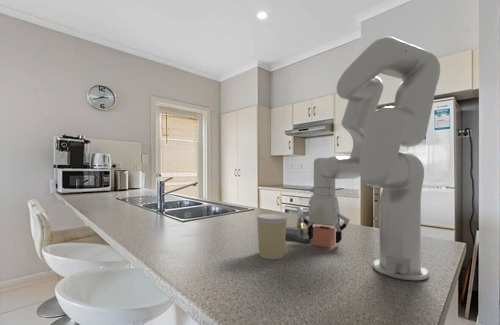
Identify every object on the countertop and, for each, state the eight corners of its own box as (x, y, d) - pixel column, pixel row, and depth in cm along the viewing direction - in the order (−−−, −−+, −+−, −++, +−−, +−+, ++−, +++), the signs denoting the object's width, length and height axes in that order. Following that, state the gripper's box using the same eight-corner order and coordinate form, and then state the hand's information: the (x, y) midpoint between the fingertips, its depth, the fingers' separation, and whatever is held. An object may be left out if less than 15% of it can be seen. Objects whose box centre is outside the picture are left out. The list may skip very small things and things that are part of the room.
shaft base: (310, 243, 93) (310, 212, 93) (277, 238, 100) (278, 209, 100) (323, 234, 106) (323, 207, 106) (294, 230, 113) (294, 205, 114)
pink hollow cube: (330, 247, 88) (330, 230, 88) (313, 244, 91) (313, 227, 91) (334, 243, 93) (335, 227, 93) (318, 241, 96) (318, 224, 96)
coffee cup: (286, 250, 84) (286, 214, 84) (287, 261, 75) (287, 219, 75) (257, 249, 85) (258, 213, 85) (255, 259, 76) (255, 218, 76)
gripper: (297, 191, 94) (297, 238, 94) (347, 194, 85) (346, 246, 84) (305, 190, 100) (305, 234, 100) (351, 192, 91) (351, 241, 90)
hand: (324, 240), depth 92 cm, fingers open, 9 cm apart
